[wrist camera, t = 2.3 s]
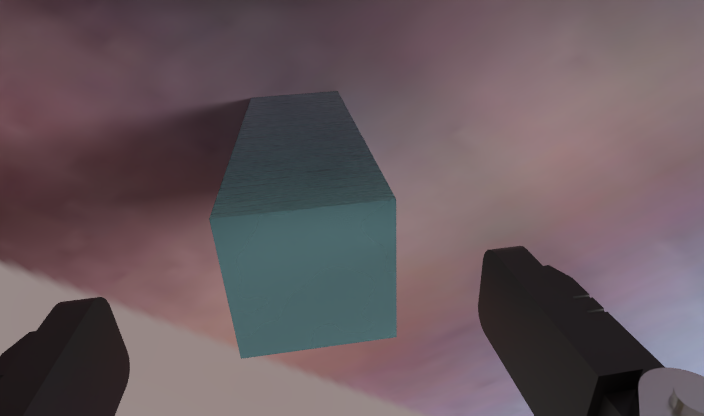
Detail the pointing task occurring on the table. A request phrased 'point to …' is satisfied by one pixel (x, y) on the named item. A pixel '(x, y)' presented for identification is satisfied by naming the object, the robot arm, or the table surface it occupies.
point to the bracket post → (305, 229)
